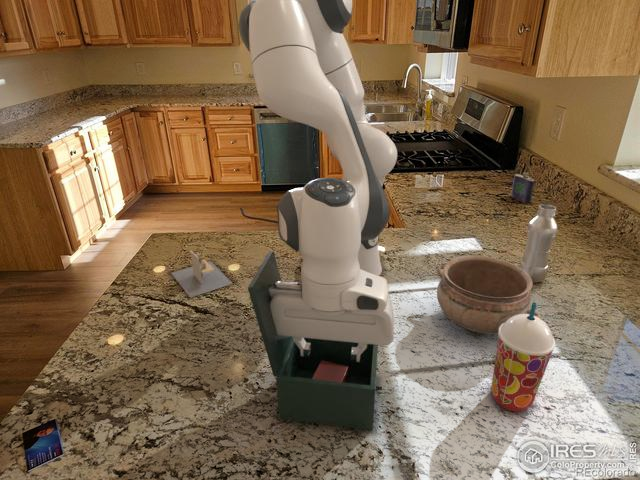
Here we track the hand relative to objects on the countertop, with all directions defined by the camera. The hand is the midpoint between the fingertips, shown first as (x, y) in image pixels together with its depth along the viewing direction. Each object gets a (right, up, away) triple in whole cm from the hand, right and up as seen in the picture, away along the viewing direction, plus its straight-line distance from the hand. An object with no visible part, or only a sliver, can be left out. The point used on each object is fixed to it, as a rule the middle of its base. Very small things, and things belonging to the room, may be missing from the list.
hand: (330, 356), depth 71 cm
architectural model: (-33, +9, +42) cm, 54 cm away
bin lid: (-9, +8, -2) cm, 12 cm away
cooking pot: (+33, +1, +23) cm, 40 cm away
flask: (+75, +35, +92) cm, 124 cm away
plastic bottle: (+53, +9, +39) cm, 67 cm away
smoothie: (+32, -8, +3) cm, 33 cm away
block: (0, -8, +4) cm, 8 cm away
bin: (0, -8, +4) cm, 9 cm away
